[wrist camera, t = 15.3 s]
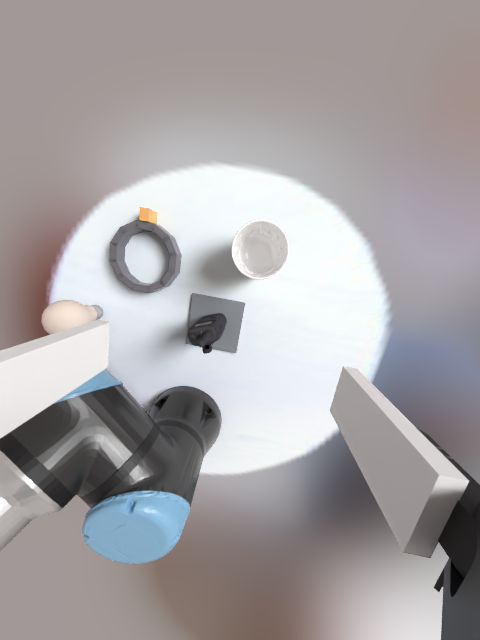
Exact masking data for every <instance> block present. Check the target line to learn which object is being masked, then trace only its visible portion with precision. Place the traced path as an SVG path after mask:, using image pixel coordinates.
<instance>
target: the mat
mask: <svg viewBox="0 0 480 640" xmlns="http://www.w3.org/2000/svg"><path fill="white" fill-rule="evenodd" d="M244 306H245V303H243V302H238V301H232V300H227V299H221V298H216V297H210V296H205V295H199V294H194V293H193V294H192V301H191V309H190V317H189V325H188V330H189V328H190V327H191V326H192V325H193V324H195V323H196V322H197V321H198V320H199V319H201V318H202V317H203V316H206V315H211V314H217V313H222V314H224V315H225V317H226V319H227V323H226V326H225V329H224V332H223V334H222V336H221V338H220V339H219V340H218V341H216V342H214V343H213V345H212V349H218V350H223V351H228V352H233V353H236V351H237V345H238V339H239V334H240V328H241V323H242V317H243V312H244ZM186 344H191V342H190V341H189V339H188V334H187V342H186ZM191 345H192V344H191Z"/></svg>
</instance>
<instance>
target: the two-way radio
mask: <svg viewBox="0 0 480 640" xmlns="http://www.w3.org/2000/svg"><path fill="white" fill-rule="evenodd" d="M226 323H227V319H226V317H225V315H224V314H222V313H217V314H211V315H206V316H203V317H202V318H201V319H199V320H198V321H197V322H196V323H195V324H193V325H192V326H191V327H190V328H189V330H188V339H189V341H190V342H191V344H192V345H195V346H200V347H203V349H202V350H203V353H204V354H205V353H210V352H211V351H212V345H213V343H214V342H216V341H218V340H219V339H220V338H221V336H222V334H223V332H224V329H225V326H226Z"/></svg>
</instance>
